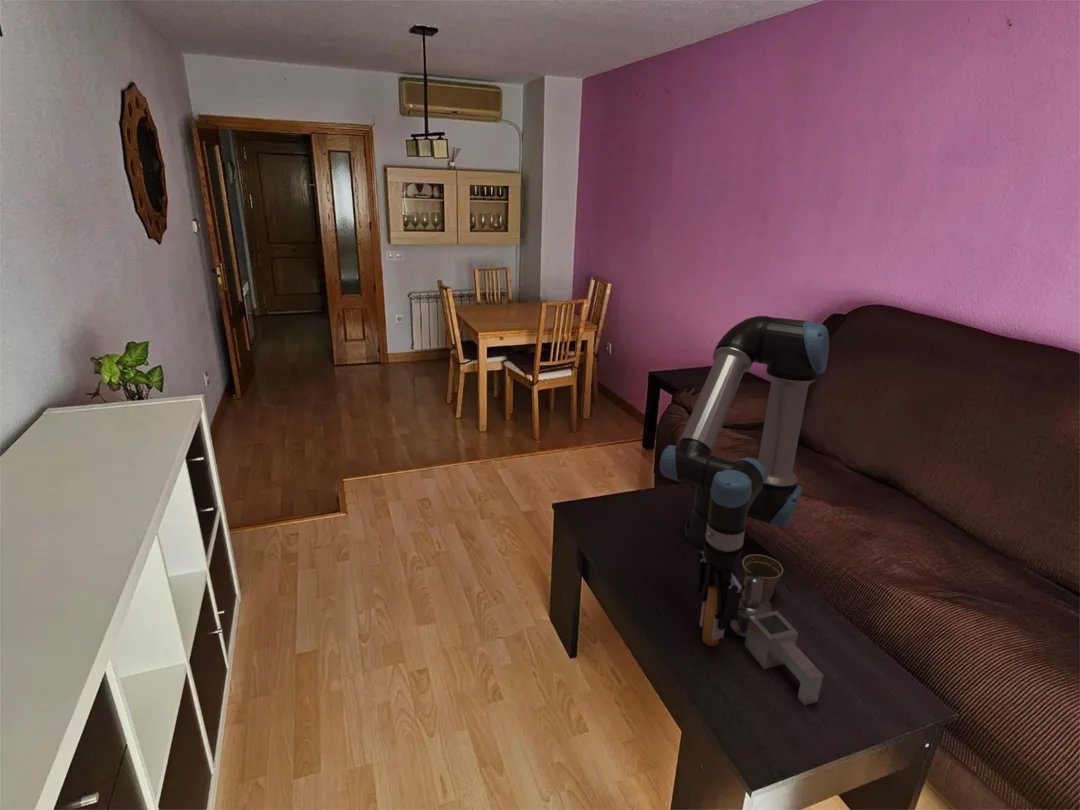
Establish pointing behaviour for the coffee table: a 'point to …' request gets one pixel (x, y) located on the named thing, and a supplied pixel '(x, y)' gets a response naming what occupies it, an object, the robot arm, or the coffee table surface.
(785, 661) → the rosette bracket
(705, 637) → the tapered pin
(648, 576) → the coffee table surface
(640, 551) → the coffee table surface
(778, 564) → the flower pot
